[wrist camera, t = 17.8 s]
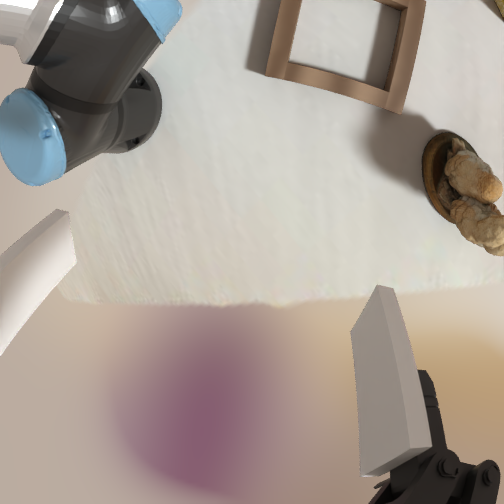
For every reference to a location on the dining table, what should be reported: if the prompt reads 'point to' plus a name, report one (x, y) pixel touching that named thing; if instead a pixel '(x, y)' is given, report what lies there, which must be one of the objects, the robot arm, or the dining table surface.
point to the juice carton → (500, 6)
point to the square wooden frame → (390, 98)
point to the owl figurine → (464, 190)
